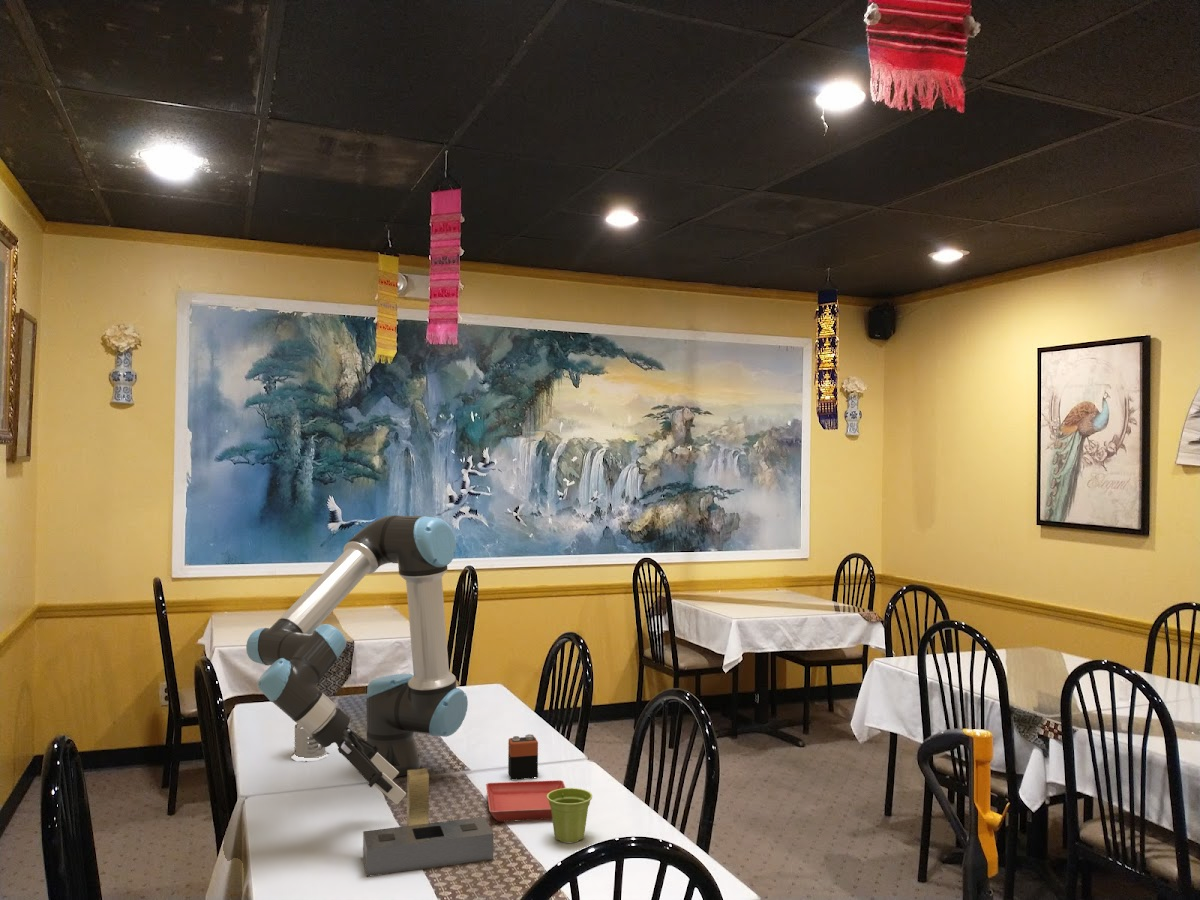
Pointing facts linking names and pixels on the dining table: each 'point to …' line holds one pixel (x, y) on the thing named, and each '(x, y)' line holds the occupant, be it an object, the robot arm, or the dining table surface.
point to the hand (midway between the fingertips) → (397, 787)
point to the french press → (307, 745)
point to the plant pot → (569, 813)
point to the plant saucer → (521, 799)
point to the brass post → (417, 797)
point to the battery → (523, 757)
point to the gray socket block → (427, 845)
